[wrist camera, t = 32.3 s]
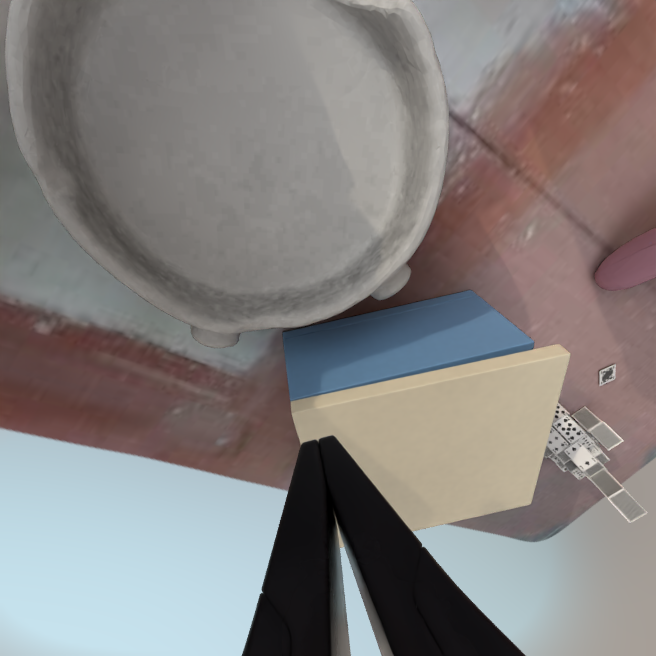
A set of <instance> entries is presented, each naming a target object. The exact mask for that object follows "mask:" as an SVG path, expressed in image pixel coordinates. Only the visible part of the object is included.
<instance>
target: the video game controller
mask: <svg viewBox="0 0 656 656" xmlns="http://www.w3.org/2000/svg"><path fill="white" fill-rule="evenodd" d="M655 277H656V227H655V228H653V229H651V230H649V231H647V232H645V233H643V234H641V235H639V236H637V237H635V238H634V239H632V240H630V241H629V242H627V243H626V244H624V245H622V246H621V247H619V248H618V249H617V250H615V251H614V252H613V253H612V254H611V255H609V256H608V257H607V258H606V259H605V260H604V261H603V262H602V263H601V264H600V266H599V268H598V270H597V271H596V273H595V280H596V283H597V284H598V286H600V287H601V288H603V289H606V290H609V291H616V290H622V289H628V288H631V287H634V286H636V285H639V284H641V283H644V282H646V281H648V280H651V279H653V278H655Z"/></svg>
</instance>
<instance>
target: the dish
mask: <svg viewBox="0 0 656 656" xmlns="http://www.w3.org/2000/svg"><path fill="white" fill-rule="evenodd" d="M5 71H6V78H7V86H8V96H9V108H10V113H11V118H12V123H13V128H14V132H15V136H16V139H17V143H18V146H19V149H20V151H21V153H22V155H23V157H24V159H25V160H26V162H27V164H28V166H29V168H30V169H31V171H32V172H33V174H34V176H35V177H36V179H37V181H38V183H39V185H40V187H41V190H42V192H43V195H44V197H45V199H46V200H47V202H48V204H49V205H50V207H51V209H52V211H53V212H54V214H55V216H56V217H57V218H58V219H59V221H60V222H61V223H62V225H63V226H64V227H65V229H66V230H67V231H68V232H69V234H70V235H71V236H72V238H73V239H74V240H75V241H76V242H77V243H78V244H79V245H80V246H81V247H82V248H83V249H84V250H85V251H86V252H87V253H88V254H89V255H90V256H91V257H92V258H93V259H94V260H95V261H96V262H97V263H98V264H99V265H101V266H102V267H103V268H104V269H106V270H107V271H108V272H109V273H110V274H112V275H113V276H114V277H115V278H116V279H118V280H119V281H120V282H122V283H123V284H124V285H126V286H127V287H128V288H130V289H131V290H132V291H134V292H135V293H137V294H138V295H139V296H141V297H142V298H143V299H145V300H146V301H147V302H149V303H150V304H152V305H154V306H155V307H157V308H159V309H160V310H162V311H164V312H165V313H167V314H169V315H170V316H172V317H174V318H176V319H178V320H180V321H182V322H184V323H187V324H189V325H191V334H192V336H193V338H194V339H195V340H196V341H198V342H199V343H201V344H203V345H205V346H207V347H211V348H225V347H231V346H234V345H235V344H237V342H238V341H239V337H240V334H241V333H242V332H248V331H255V330H262V329H270V328H288V327H290V328H296V327H302V326H306V325H309V324H313V323H315V322H318V321H321V320H324V319H328V318H330V317H332V316H335V315H337V314H339V313H342V312H344V311H345V310H347V309H349V308H350V307H352V306H354V305H355V304H357V303H358V302H360V301H362V300H363V299H365V298H367V297H368V296H369V295H371V296H372V297H373V298H375V299H377V300H384V299H387V298H389V297H391V296H392V295H394V294H396V293H397V292H398V291H400V290H401V289H402V288H403V287H404V286H405V285H406V283H407V281H408V280H409V278H410V274H411V269H410V267H409V266H408V265H407V264H406V263H407V262H408V260H409V259H410V258H411V257H412V255H413V254H414V252H415V251H416V250H417V248H418V247H419V245H420V244H421V242H422V241H423V239H424V237H425V235H426V232H427V230H428V228H429V226H430V224H431V222H432V219H433V217H434V214H435V211H436V208H437V204H438V201H439V198H440V195H441V191H442V188H443V182H444V175H445V169H446V162H447V154H448V139H449V107H448V100H447V93H446V86H445V82H444V79H443V75H442V71H441V67H440V63H439V60H438V58H437V55H436V52H435V48H434V45H433V41H432V37H431V34H430V32H429V30H428V27H427V25H426V23H425V21H424V19H423V16H422V14H421V13H420V11H419V10H418V8H417V7H416V5H415V4H414V3H413V2H412V1H410V0H11V2H10V7H9V14H8V23H7V32H6V40H5Z"/></svg>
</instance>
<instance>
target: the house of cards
mask: <svg viewBox="0 0 656 656" xmlns="http://www.w3.org/2000/svg"><path fill="white" fill-rule="evenodd" d="M615 367H616V364H614V365H612V366H610V367H607V368H605V369H603V370H601V371H599V375H600V386H601V385H603V384H606V383H608V382H610V381H612V380H615ZM569 414H570V413H569V412H568V411H567V410H566V409H565V408H564V407H563V406H562V405H561V404H560V403H559V402H558V404H557V408H556V412H555V415H554V419H553V423H552V427H551V430H550V434H549V438H548V442H547V445H546V449H545V453H544V456H545V457H546V458H548V457H549V458H550V459H551V460H552V461H554V462H555V463H556V465H557V466H558V467H559V468H560V469H561V470H562V471H563V472H566V471H567V470H569V471H570V472H571V473H572V474H573V475H574V476H575V477H576V478H577V479H579V480H580V479H582V478H584V477H585V476H586V477H587V478H588V479H589V480H591V482H592V483H593V484H594V485H595V486H596V487H597V488H599V490H600V491H601V492H602V493H603V494H604V495H605V496H606V497H607V499H608V500H609V501H610V502H611V503H612V504H613V505H614V506H615V508H616V509H617V510H618V511H619V512H620V513H621V514H622V515H623V516H624V517H625V519H626V520H627V521H628V522H629V523H631V522H633V521H635V520H637V519H638V518H640V517H642V516H644V515H645V514H647V512H646V511H645V510H644V509H643V508H642V507H641V506H640V505H639V504H638V503H637V502H636V501H635V500H634V499H633V498H632V497H631V495H630V493H629V492H628V491H627V490H626V489H625V488H624V487H623V486H622V485H621V484H620V483H619V482H618V481H617V480H616V479H615V478H614V477H613V476H612V475H611V474H610V473H609V472H608V471H607V469H606V468H605V467H604V466H603V464H604V463H606V462H607V461H609V460H610V459H609V458H608V457H607V456H606V455H605V454H604V453H603V451H602V450H601V449H600V447H601V446H600V445H599V444H598V442H599V443H600V444H601V445H603V446H604V447H605V448H606V449H607V450H608V451H609V450H610V449H612V448H613V447H615V446H617V445H618V444H620V443H621V442H623V441H624V440H623V439H622V438H621V437H619V436H618V435H617V434H616V433H615V432H614V431H613V430H612V429H611V428H610V427H609V426H608V425H607V424H606V423H605V422H604V421H603V422H602V421H601V420H600V419H599V418H598V417H596V416H595V415H594V414H593V413H592V412H591V411H590V410H589V409H587V408H586V407H583V408H582V409H580V410H579V411H577V412H576V413H574V414H573V415H571V416H572V417H573V418H574V419H575V420H576V421H577V422H578V423H579V424H580V425H581V426H582V427H583V428H584V429H585V430H586V431H585V430H584V429H583V428H582V427H581V426H580V425H579V424H578V423H577V422H576V421H575V420H573V419H572V418H571V417H570V415H569Z"/></svg>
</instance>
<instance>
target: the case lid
mask: <svg viewBox="0 0 656 656" xmlns="http://www.w3.org/2000/svg"><path fill="white" fill-rule="evenodd" d="M570 355H571V354H570V353H569V352H568V351H567V350H566V349H565V348H563V347H562V346H561V345H560V344H556V345H552V346H547V347H542V348H538V349H533V350H528V351H523V352H519V353H514V354H509V355H505V356H500V357H495V358H491V359H486V360H481V361H477V362H472V363H467V364H463V365H458V366H453V367H449V368H444V369H439V370H435V371H430V372H425V373H421V374H416V375H411V376H406V377H402V378H397V379H392V380H388V381H383V382H378V383H374V384H369V385H364V386H360V387H355V388H350V389H346V390H341V391H336V392H332V393H327V394H322V395H318V396H313V397H308V398H304V399H299V400H294V401H291V414H292V417H293V421H294V424H295V427H296V431H297V434H298V437H299V441H300V444H302V443H303V442H307V441H310V440H314V439H316V440H318V441H319V439H320V438H322V437H326V436H330V435H334V436H335V437H336V438H337V439H338V441H339V442H340V443H341V444H342V446H343V447H344V448H345V449H346V450H347V452H348V453H349V454H350V455H351V457H352V458H353V459H354V460H355V462H356V463H357V464H358V465H359V467H360V468H361V469H362V470H363V472H364V473H365V474H366V475H367V477H368V478H369V479H370V480H371V481H372V483H373V484H374V485H375V486H376V488H377V489H378V490H379V491H380V493H381V494H382V495H383V496H384V498H385V499H386V500H387V501H388V503H389V504H390V505H391V506H392V507H393V509H394V510H395V511H396V512H397V514H398V515H399V516H400V517H401V519H402V520H403V521H404V522H405V524H406V525H407V526H408V527H409V529H410V530H411V531H416V530H420V529H425V528H429V527H434V526H438V525H443V524H447V523H451V522H456V521H460V520H465V519H469V518H473V517H478V516H482V515H486V514H491V513H495V512H500V511H504V510H508V509H513V508H517V507H521V506H526V505H530V504H531V502H532V498H533V494H534V491H535V487H536V483H537V479H538V476H539V472H540V468H541V464H542V460H543V457H544V453H545V449H546V445H547V442H548V438H549V434H550V430H551V427H552V423H553V419H554V415H555V412H556V408H557V404H558V400H559V396H560V393H561V389H562V385H563V381H564V378H565V374H566V370H567V366H568V363H569V359H570ZM335 518H336V517H335ZM336 523H337V521H336ZM337 528H338V525H337ZM338 536H339V545H340V548H342V547H344V544H343V541H342V538H341V535H340V532H339V528H338Z"/></svg>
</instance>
